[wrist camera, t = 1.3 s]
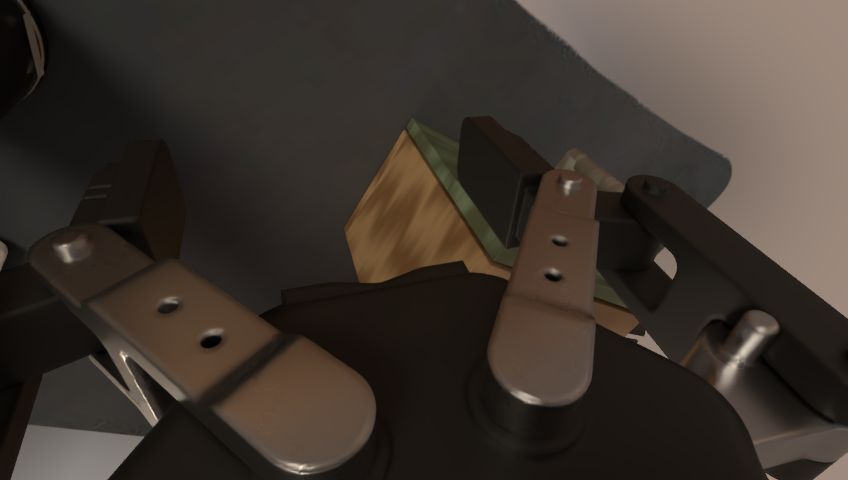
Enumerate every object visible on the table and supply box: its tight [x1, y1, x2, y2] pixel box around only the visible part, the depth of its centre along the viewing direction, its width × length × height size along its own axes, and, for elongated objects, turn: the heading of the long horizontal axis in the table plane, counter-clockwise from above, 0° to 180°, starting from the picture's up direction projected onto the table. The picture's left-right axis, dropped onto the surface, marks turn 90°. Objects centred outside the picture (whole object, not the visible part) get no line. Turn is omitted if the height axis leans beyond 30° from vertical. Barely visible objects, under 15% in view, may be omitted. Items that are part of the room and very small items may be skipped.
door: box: [406, 118, 628, 309], centre depth 35 cm, size 6×16×18 cm, turn 56°
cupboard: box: [344, 130, 639, 337], centre depth 38 cm, size 11×16×18 cm
